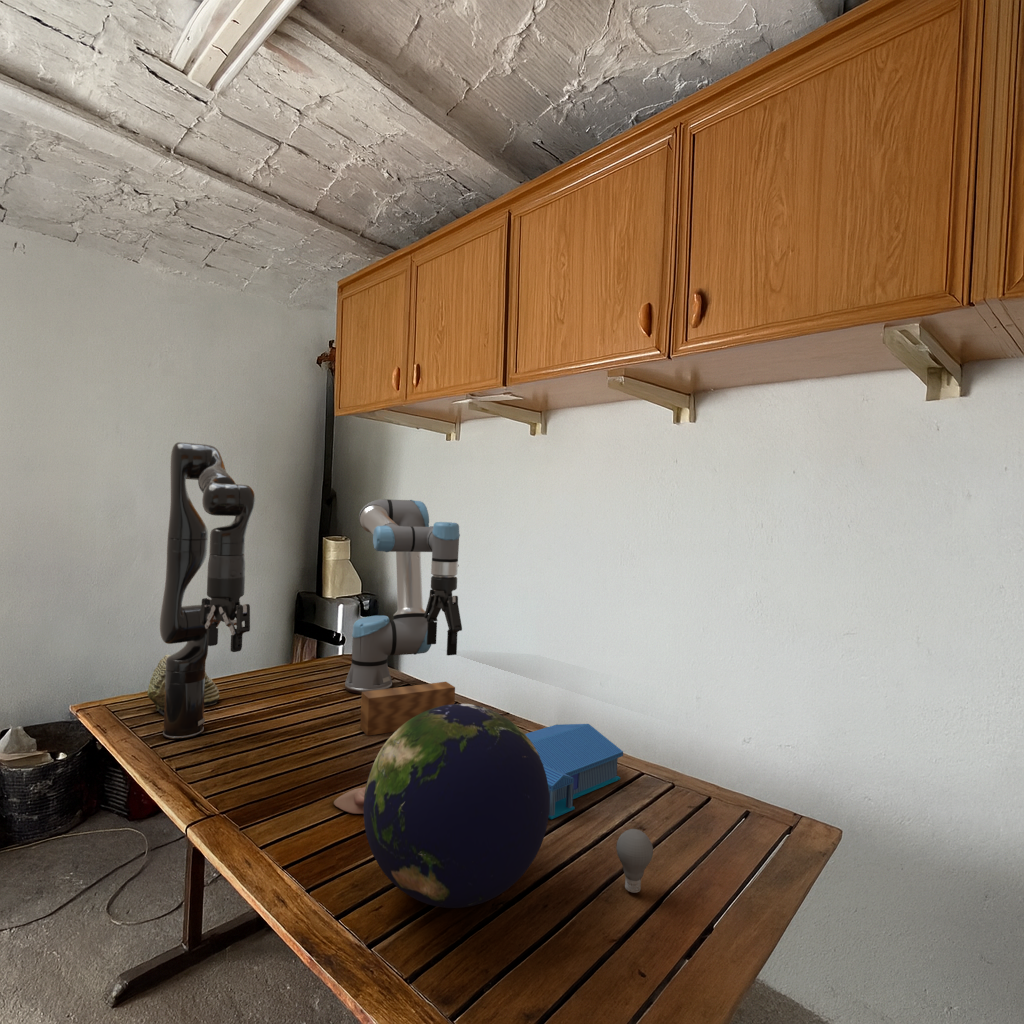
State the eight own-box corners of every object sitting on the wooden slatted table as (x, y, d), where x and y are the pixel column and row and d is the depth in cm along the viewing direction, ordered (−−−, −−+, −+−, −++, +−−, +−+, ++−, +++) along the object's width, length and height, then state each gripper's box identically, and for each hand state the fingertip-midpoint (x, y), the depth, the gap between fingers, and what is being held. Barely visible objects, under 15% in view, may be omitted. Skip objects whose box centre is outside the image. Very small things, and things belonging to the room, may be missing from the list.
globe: (319, 919, 95) (326, 721, 95) (420, 827, 123) (427, 673, 122) (502, 984, 84) (511, 760, 83) (568, 867, 112) (576, 698, 111)
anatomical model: (326, 790, 128) (352, 767, 139) (326, 809, 128) (351, 785, 139) (388, 799, 125) (409, 775, 136) (387, 819, 125) (408, 793, 137)
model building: (505, 839, 120) (507, 787, 120) (430, 791, 138) (432, 746, 138) (631, 784, 146) (633, 741, 146) (555, 749, 164) (556, 711, 164)
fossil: (144, 707, 182) (145, 655, 182) (212, 696, 194) (213, 647, 194) (151, 716, 175) (153, 662, 175) (221, 703, 188) (223, 653, 188)
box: (367, 735, 169) (368, 698, 168) (360, 728, 174) (361, 691, 174) (453, 722, 182) (455, 687, 182) (444, 715, 187) (446, 681, 187)
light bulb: (610, 879, 108) (613, 822, 108) (644, 879, 109) (647, 822, 109) (619, 902, 102) (622, 840, 102) (655, 901, 103) (658, 840, 103)
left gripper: (262, 576, 138) (259, 650, 139) (222, 570, 146) (219, 640, 146) (231, 579, 132) (228, 657, 132) (191, 572, 139) (188, 646, 140)
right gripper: (476, 581, 173) (473, 658, 174) (437, 570, 194) (435, 639, 195) (451, 582, 169) (448, 661, 170) (415, 570, 190) (412, 641, 191)
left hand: (223, 648), depth 139 cm, fingers open, 8 cm apart
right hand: (441, 649), depth 182 cm, fingers open, 13 cm apart
